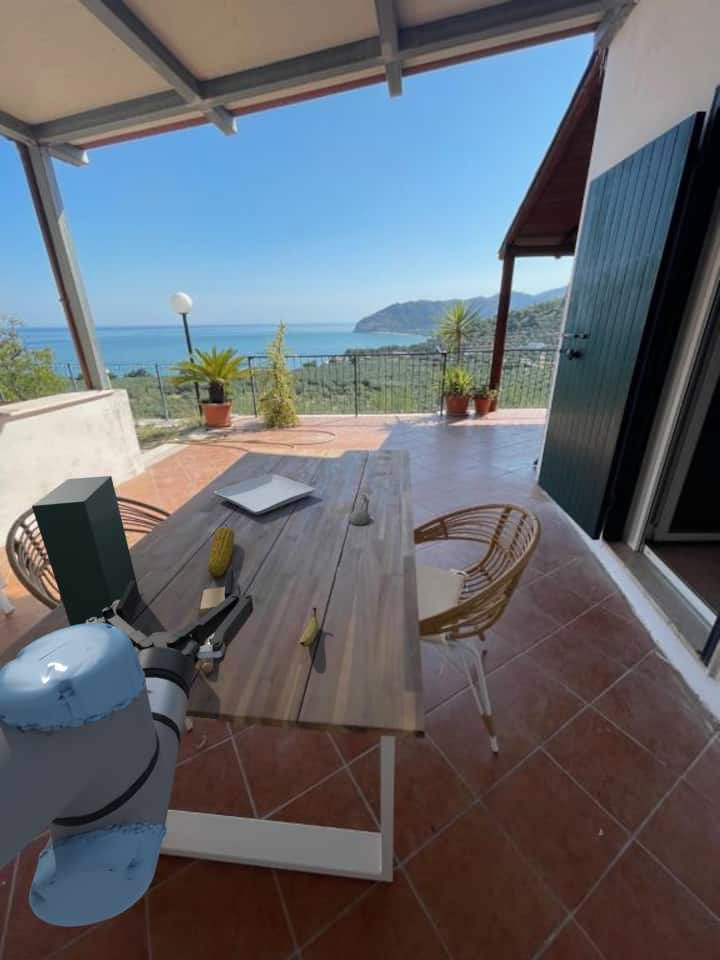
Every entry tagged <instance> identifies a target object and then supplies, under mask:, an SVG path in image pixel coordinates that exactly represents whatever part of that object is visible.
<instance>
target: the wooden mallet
mask: <svg viewBox="0 0 720 960" xmlns="http://www.w3.org/2000/svg"><path fill="white" fill-rule="evenodd" d="M224 592H225V586H221V587H215V588H207V589H204V590H203V593H202V598H201V602H200V607H199V611H200V612H199V613H200V618H202V617H203V616H204V615H205V614H207V613H208V612H209V611H211V610H212V609H213V608H215V607H216V606H217V605H218V604H220V603H221V602H222V601H224V600H225V595H224ZM214 634H215V633H213V634H212V635H211V636H214ZM208 641H209V638H208V639H206V640H205V642H204V645H205V644H206V643H207V642H208ZM214 664H215V662H214V658H213V657H211V658H202V662H201V667H200V668H201V672H202V673H203V674H209V673H211V672H212V671H213V669H214Z"/></svg>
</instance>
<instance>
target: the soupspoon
mask: <svg viewBox="0 0 720 960" xmlns="http://www.w3.org/2000/svg"><path fill="white" fill-rule="evenodd" d="M362 496H363V497H362ZM362 496H361V498H362V499H361V502H360V506H359V510H354V511H353V512H351V513H350V515H349V521H350V522H351V523H352V524H353V525H355V526H363V525H366V524H368V523H369V521H370V517H371V516H370V514H369V512H368V511H365V510H363V509H364V508H363V507H364V502H365V500H367V499H368V496H367V495H366V494H363V495H362ZM366 496H367V497H366ZM365 497H366V498H365Z"/></svg>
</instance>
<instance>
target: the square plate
mask: <svg viewBox="0 0 720 960" xmlns="http://www.w3.org/2000/svg"><path fill="white" fill-rule="evenodd" d="M315 490H316V488H315V487H312V486H309V485H307V484H304V483H302V482H299V481H296V480H294V479H291V478H288V477H284V476H281V475H278V474H274V473H269V474H266V475H261V476H258V477H254V478H250V479H248V480H247V479H246V480H244V481H241V482H238V483H235V484H232V485H229V486H226V487H223V488H220V489H217V490H214V491H213V494H215V495H216V496H217V497H219V498H221V499H223V500H225V501H227V502H229V503H231V504H234V505H236V506H238V507H239V508H242V510H245V511H247V512H249V513H251V514H253V515H255V516H256V515H257V516H259V515H263V514H266V513H267V512H271V511H274V510H275V509H279V508H281V507H283V506H286V505H288V504H289V505H290V504H291V503H293V502H296V501H298V500H301V499H304V498H306V497H307V496H310V495H311V494H312V493H313V492H315Z"/></svg>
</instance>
